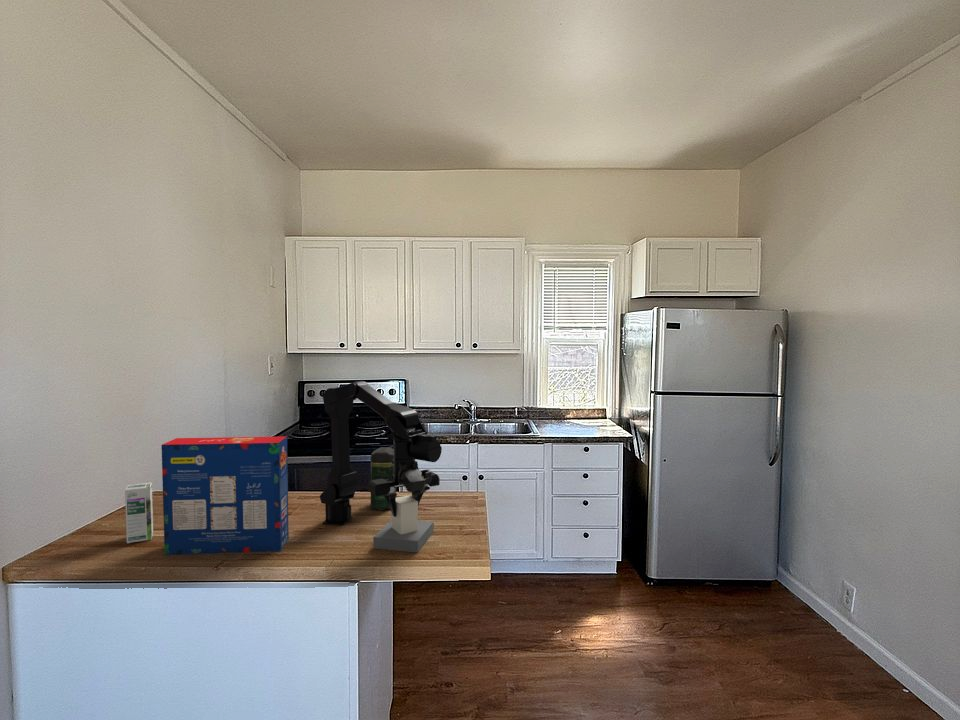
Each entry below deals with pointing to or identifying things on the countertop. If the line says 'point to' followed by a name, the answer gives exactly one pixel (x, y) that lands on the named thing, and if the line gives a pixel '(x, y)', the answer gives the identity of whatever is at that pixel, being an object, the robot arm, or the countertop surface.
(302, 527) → the countertop surface
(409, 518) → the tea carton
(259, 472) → the blue cardboard box
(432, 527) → the podium
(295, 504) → the countertop surface
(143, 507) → the syrup box
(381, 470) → the coffee jar
